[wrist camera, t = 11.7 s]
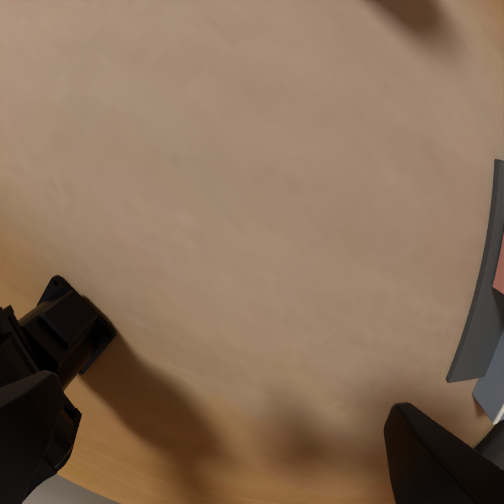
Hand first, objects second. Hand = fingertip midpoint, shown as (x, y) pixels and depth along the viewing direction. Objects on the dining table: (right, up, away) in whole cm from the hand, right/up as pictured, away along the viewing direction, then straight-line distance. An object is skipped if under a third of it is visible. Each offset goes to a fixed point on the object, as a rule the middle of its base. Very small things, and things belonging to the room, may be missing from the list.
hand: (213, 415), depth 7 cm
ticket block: (+22, 0, +12) cm, 25 cm away
